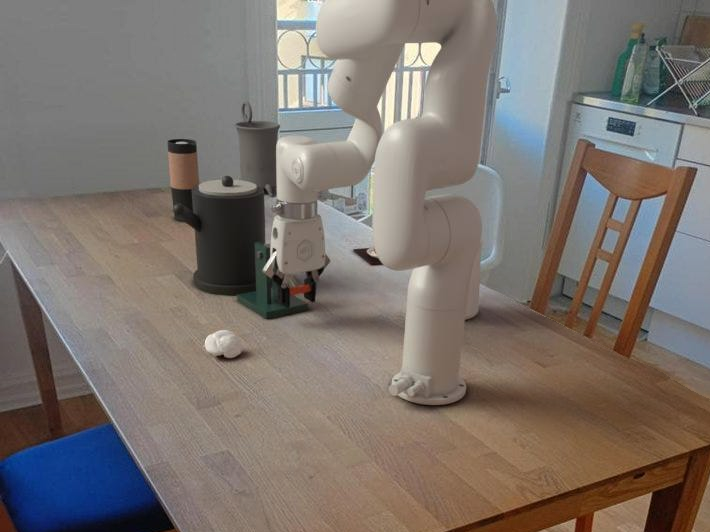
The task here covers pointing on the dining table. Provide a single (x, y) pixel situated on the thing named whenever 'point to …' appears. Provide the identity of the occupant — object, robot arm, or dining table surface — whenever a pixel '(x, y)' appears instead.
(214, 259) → the kettle
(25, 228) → the dining table surface
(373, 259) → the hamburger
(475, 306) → the coffeepot
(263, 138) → the grey canister
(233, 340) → the dumpling
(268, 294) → the switch bracket
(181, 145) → the travel mug
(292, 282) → the switch lever
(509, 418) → the dining table surface
